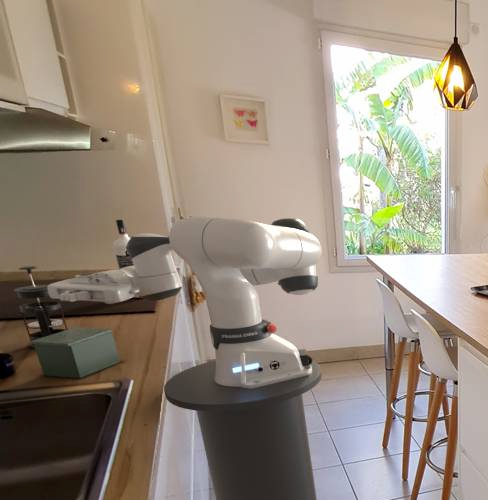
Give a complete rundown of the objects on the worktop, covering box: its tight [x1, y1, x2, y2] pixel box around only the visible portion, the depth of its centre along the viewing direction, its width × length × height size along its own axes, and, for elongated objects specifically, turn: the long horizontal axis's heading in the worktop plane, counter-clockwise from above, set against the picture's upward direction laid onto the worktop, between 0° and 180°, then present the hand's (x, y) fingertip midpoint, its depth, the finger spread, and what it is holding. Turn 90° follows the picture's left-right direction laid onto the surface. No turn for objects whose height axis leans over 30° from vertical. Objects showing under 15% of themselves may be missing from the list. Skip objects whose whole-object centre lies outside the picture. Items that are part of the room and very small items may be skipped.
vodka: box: [112, 219, 134, 270], centre depth 214 cm, size 9×9×30 cm
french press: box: [13, 265, 69, 349], centre depth 159 cm, size 12×9×23 cm
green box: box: [34, 331, 121, 379], centre depth 145 cm, size 12×10×9 cm
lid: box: [29, 326, 113, 346], centre depth 143 cm, size 13×10×1 cm
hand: (64, 298), depth 140 cm, fingers closed
